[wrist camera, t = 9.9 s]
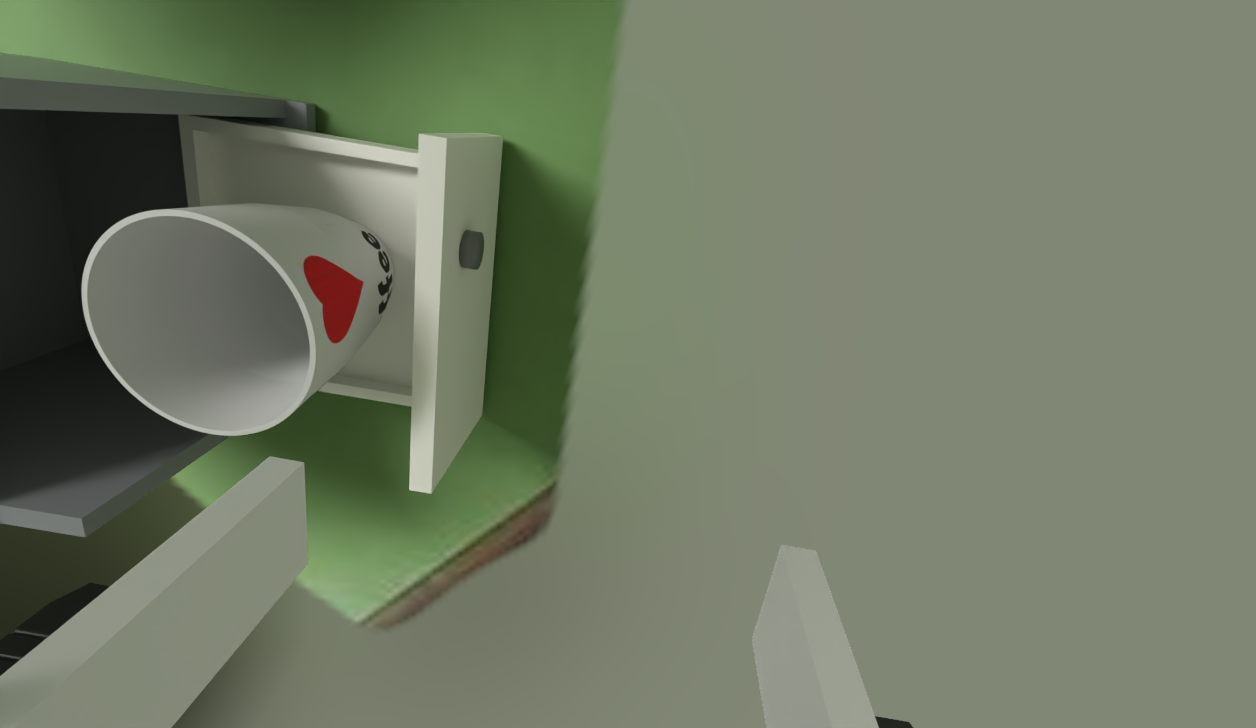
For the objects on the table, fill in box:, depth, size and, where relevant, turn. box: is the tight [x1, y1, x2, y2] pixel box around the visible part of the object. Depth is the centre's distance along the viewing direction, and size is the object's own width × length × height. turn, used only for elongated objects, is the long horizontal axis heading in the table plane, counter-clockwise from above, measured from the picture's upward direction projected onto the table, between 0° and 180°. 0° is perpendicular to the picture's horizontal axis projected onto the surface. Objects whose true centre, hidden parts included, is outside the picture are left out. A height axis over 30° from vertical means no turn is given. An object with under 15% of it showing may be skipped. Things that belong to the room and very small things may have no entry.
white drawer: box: [178, 115, 503, 494], centre depth 28 cm, size 14×15×8 cm
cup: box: [82, 203, 394, 436], centre depth 25 cm, size 8×8×10 cm
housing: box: [0, 53, 316, 537], centre depth 25 cm, size 14×15×15 cm
